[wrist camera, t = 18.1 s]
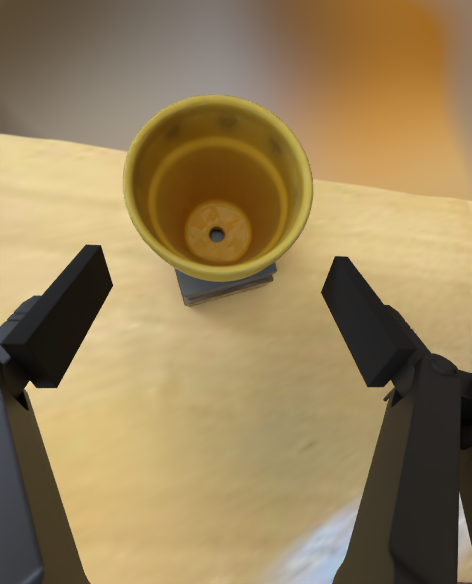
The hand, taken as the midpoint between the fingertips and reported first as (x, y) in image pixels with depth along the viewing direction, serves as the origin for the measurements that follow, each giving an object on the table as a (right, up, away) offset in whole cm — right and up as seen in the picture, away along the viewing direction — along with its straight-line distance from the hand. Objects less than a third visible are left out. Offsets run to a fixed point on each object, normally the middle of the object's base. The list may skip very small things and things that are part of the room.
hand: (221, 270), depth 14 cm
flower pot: (-1, +4, +9) cm, 9 cm away
